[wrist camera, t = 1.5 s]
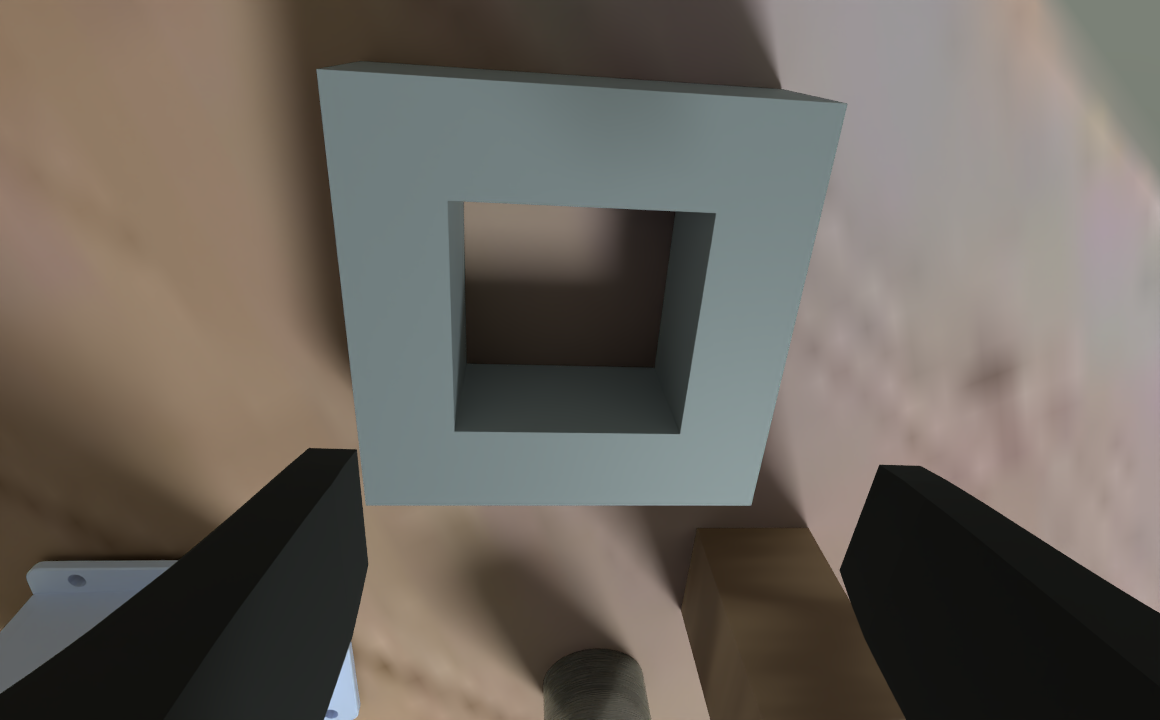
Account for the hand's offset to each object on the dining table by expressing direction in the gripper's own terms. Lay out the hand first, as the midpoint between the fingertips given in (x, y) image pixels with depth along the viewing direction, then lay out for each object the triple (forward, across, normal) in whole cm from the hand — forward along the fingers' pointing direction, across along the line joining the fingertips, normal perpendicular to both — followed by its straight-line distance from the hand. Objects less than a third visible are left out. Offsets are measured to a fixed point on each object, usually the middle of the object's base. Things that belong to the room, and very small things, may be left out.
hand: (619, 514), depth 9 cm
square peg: (+10, -7, +11) cm, 16 cm away
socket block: (+10, 0, 0) cm, 10 cm away
